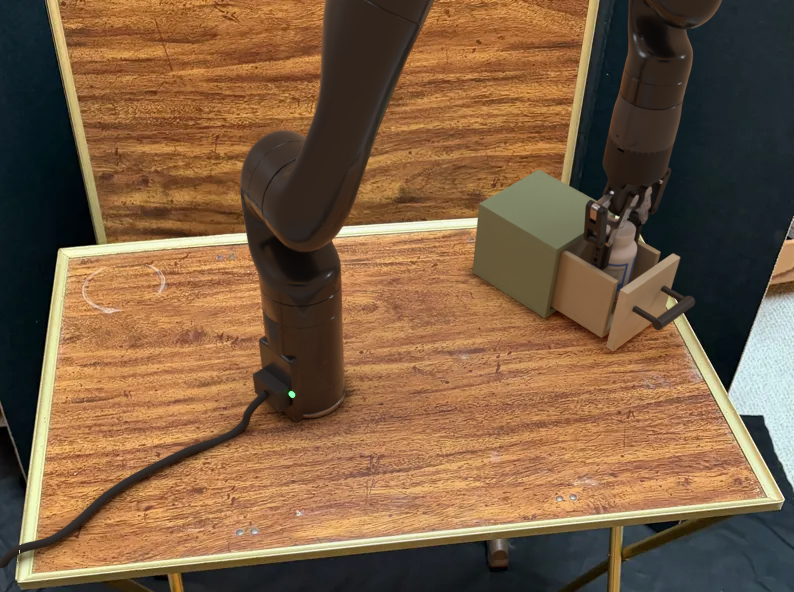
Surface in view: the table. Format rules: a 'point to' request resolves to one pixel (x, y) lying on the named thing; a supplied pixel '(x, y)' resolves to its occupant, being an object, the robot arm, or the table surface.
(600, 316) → the drawer
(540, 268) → the cabinet
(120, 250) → the table surface
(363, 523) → the table surface
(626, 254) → the pill bottle
